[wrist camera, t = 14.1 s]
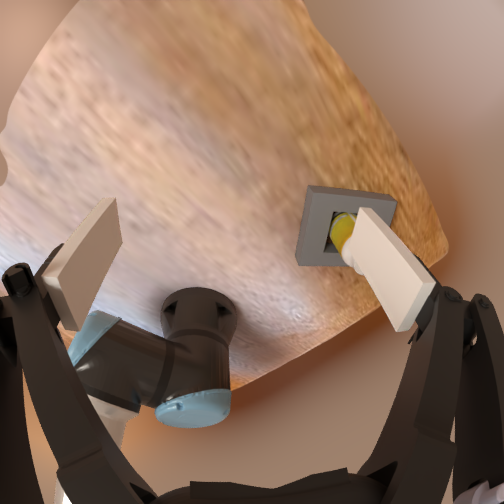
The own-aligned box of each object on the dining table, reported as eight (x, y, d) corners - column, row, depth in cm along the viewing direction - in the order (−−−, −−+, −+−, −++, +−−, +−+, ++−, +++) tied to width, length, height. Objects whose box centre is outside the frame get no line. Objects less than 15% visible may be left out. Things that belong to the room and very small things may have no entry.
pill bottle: (324, 241, 48) (345, 282, 39) (327, 208, 44) (352, 245, 35) (356, 239, 48) (382, 277, 39) (361, 207, 45) (392, 242, 35)
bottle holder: (369, 257, 51) (375, 266, 48) (294, 255, 49) (298, 265, 46) (388, 194, 43) (397, 201, 41) (308, 185, 42) (313, 192, 39)
